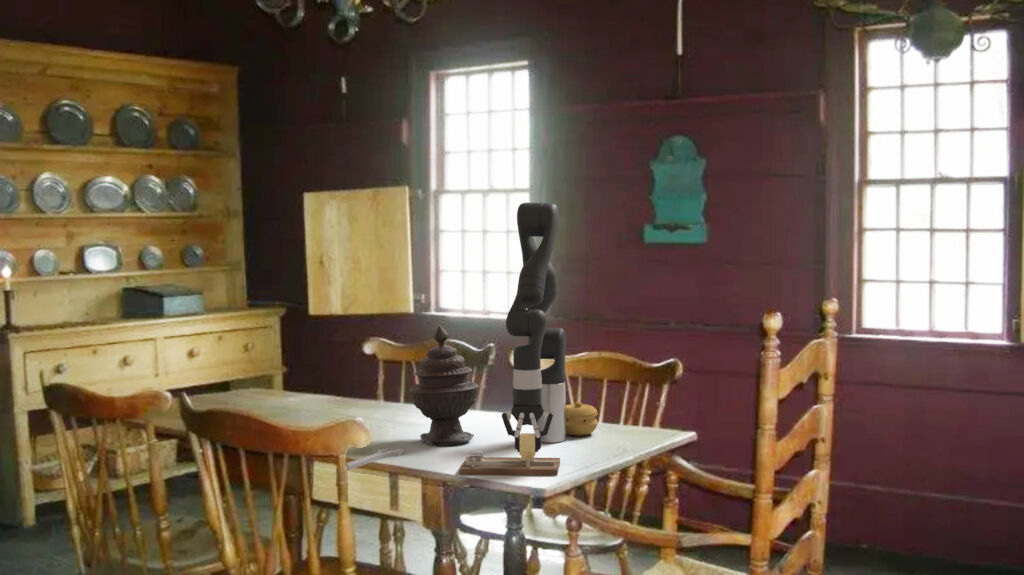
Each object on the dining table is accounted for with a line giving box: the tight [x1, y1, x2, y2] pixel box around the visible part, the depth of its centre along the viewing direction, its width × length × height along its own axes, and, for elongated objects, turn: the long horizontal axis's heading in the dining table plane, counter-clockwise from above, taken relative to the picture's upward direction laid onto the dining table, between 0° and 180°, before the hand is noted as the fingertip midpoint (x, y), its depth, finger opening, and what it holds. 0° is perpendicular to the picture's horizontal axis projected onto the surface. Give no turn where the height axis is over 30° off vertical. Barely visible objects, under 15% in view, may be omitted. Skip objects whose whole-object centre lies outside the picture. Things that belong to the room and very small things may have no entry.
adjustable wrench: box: [346, 447, 404, 471], centre depth 301 cm, size 25×6×2 cm, turn 147°
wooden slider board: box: [459, 450, 561, 476], centre depth 288 cm, size 14×25×4 cm, turn 85°
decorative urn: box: [408, 324, 479, 446], centre depth 324 cm, size 20×20×35 cm
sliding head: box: [519, 432, 537, 461], centre depth 288 cm, size 6×4×7 cm, turn 175°
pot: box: [566, 401, 599, 437], centre depth 333 cm, size 12×12×10 cm
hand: (527, 451), depth 288 cm, fingers closed on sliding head, 4 cm apart
